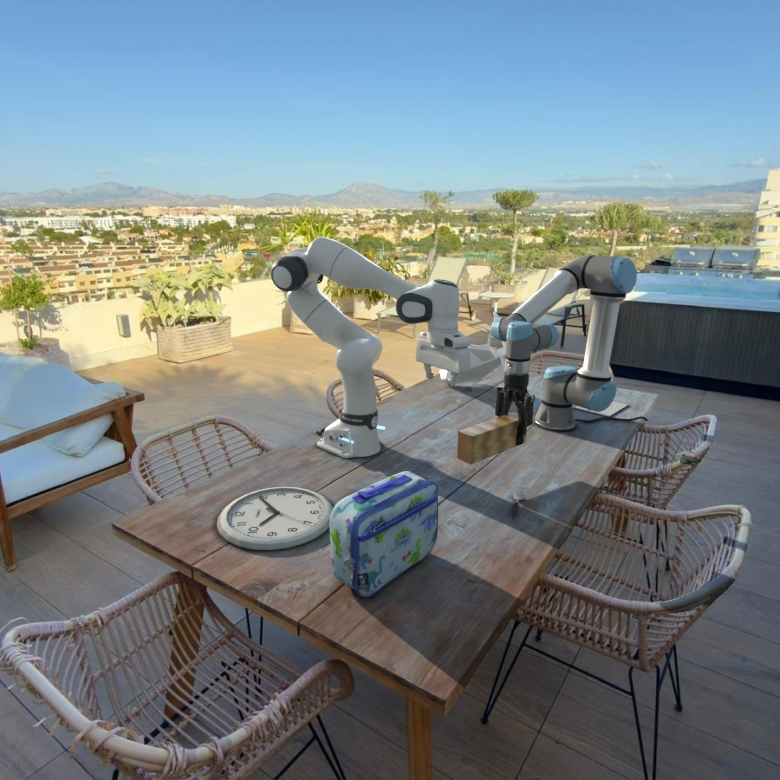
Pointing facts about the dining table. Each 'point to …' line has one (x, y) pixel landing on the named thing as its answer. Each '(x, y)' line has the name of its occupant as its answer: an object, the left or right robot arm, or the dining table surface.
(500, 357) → the white plastic object
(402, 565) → the lunch box
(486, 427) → the bar
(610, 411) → the invitation card
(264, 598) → the dining table surface
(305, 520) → the wall clock
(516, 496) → the fork
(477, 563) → the dining table surface
